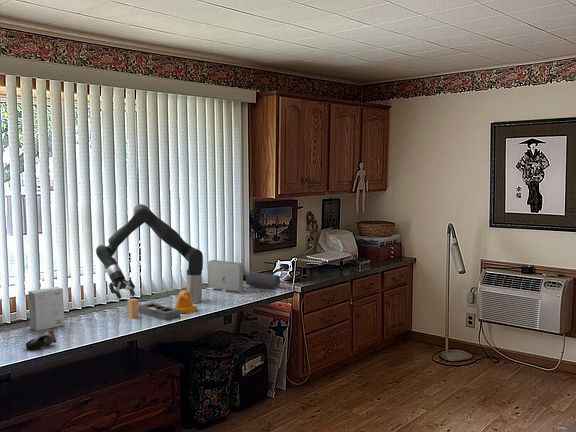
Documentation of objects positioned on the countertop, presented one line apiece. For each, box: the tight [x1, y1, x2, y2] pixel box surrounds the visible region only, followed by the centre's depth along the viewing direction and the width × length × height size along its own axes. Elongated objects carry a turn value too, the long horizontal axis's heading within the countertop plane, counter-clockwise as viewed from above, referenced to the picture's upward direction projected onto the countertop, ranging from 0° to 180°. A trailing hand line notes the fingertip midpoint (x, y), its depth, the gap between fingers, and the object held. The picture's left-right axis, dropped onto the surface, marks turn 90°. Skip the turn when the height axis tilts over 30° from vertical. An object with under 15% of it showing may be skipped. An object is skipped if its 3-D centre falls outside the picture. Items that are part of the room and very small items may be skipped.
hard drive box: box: [27, 286, 65, 332], centre depth 313 cm, size 16×8×20 cm, turn 135°
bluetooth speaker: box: [245, 272, 281, 290], centre depth 411 cm, size 23×9×10 cm, turn 66°
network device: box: [207, 259, 244, 295], centre depth 399 cm, size 26×9×20 cm, turn 62°
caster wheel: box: [25, 329, 57, 351], centre depth 280 cm, size 7×11×10 cm
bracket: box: [174, 290, 198, 314], centre depth 346 cm, size 11×7×12 cm, turn 134°
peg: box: [127, 298, 139, 319], centre depth 334 cm, size 4×4×10 cm
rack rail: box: [138, 302, 181, 322], centre depth 339 cm, size 26×10×4 cm, turn 48°
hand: (127, 296), depth 337 cm, fingers open, 8 cm apart
